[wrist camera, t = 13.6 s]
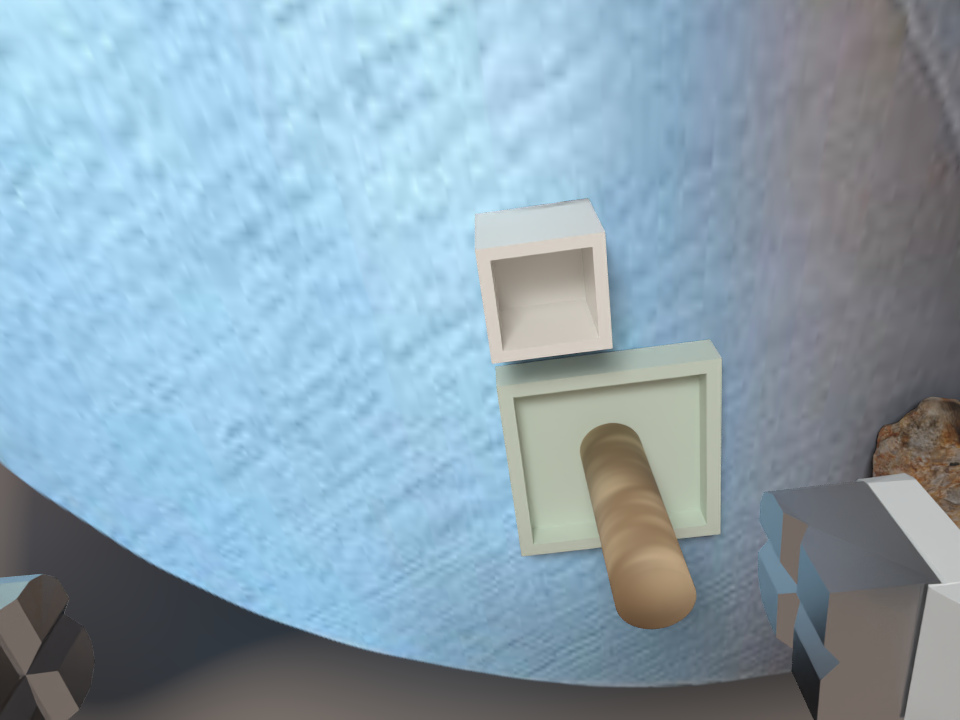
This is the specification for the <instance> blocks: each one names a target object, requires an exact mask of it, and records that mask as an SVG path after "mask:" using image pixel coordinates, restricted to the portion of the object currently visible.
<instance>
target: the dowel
mask: <svg viewBox="0 0 960 720" xmlns="http://www.w3.org/2000/svg"><path fill="white" fill-rule="evenodd" d="M580 456H581V460H582V465H583V469H584V473H585V478H586V482H587V486H588V491H589V495H590V499H591V503H592V508H593V512H594V516H595V521H596V525H597V529H598V533H599V538H600V542H601V546H602V551H603V555H604V559H605V564H606V568H607V572H608V576H609V581H610V585H611V589H612V594H613V598H614V602H615V607H616V610H617V612H618V614H619V616H620V617H621V618H622V619H623V620H624V621H625V622H627V623H628V624H630V625H632V626H635V627H638V628H643V629H659V628H664V627H668V626H671V625H673V624H675V623H677V622H679V621H680V620H682V619H683V618H684V617H686V616H687V615H688V614H689V612H690V611H691V610H692V608H693V606H694V604H695V601H696V590H695V587H694V584H693V581H692V578H691V576H690V573H689V570H688V568H687V565H686V562H685V560H684V557H683V554H682V551H681V549H680V546H679V543H678V541H677V538H676V535H675V532H674V530H673V527H672V524H671V522H670V519H669V516H668V513H667V511H666V508H665V505H664V503H663V500H662V497H661V495H660V492H659V489H658V486H657V484H656V481H655V478H654V476H653V473H652V470H651V467H650V465H649V462H648V459H647V457H646V454H645V451H644V449H643V446H642V443H641V440H640V438H639V436H638V434H637V433H636V432H635V431H634V430H633V429H632V428H630V427H628V426H626V425H623V424H619V423H607V424H603V425H600V426H597V427H595V428H594V429H592V430H591V431H590V432H589V433H587V435H586V436H585V437H584V439H583V440H582V443H581V446H580Z"/></svg>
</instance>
